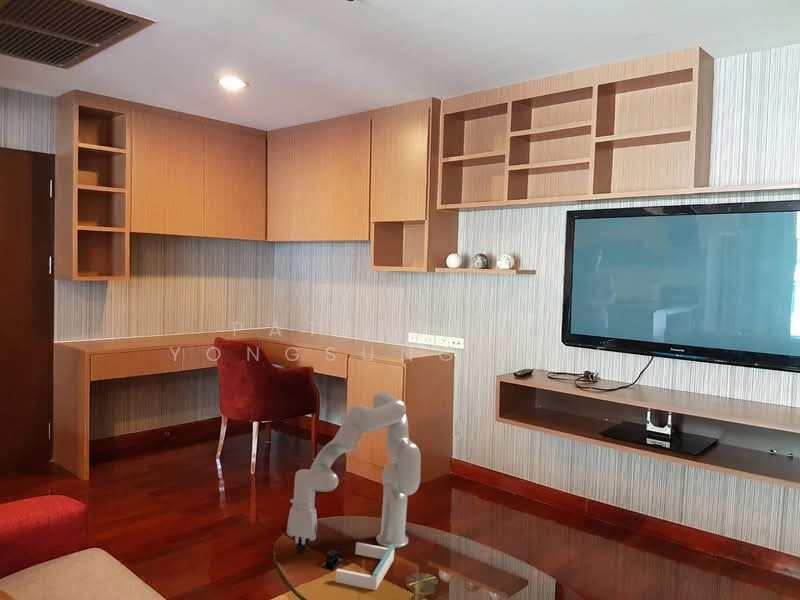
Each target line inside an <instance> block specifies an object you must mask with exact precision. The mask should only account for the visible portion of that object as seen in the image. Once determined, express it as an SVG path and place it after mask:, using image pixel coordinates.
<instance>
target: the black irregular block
mask: <svg viewBox="0 0 800 600" xmlns="http://www.w3.org/2000/svg"><path fill="white" fill-rule="evenodd" d="M344 561H345V559H343V558H339V551H337V550H333V549H331V550H329V551H328V552H327V553H326V556H325V561H324V562H323V563H322V564H321V565H320V566H319V568H321V569H324V570H328V571H331V572H333V571H334V570H336V569H337V567H338V566H340V565H341V564H342V563H343V562H344Z"/></svg>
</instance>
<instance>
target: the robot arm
mask: <svg viewBox="0 0 800 600" xmlns="http://www.w3.org/2000/svg"><path fill="white" fill-rule="evenodd" d="M372 405H373V408H372V409H371V408H369V407H368V406H365V405H363V404H356V405H353V406H352V407H351V408H350V410H349V411H348V413H347V415H346V417H345V418H344V420H343V422H342V424H341V426H340V427H339V429H338V430H337V433H336V434H335V436H334V437H333V438H332V439H331V441H329V442H328V443H326V445H324V446H323V448H322V449H320V451H318V453H317V455H316V457H315V459H314V461H312V464H311V465H310V469H308V468H305V469H299V470H297V471H296V473H295V476H294V487H293V498H291V499H290V500H289V503H291V504H292V506H291V507H290V509H289V515H288V519H287V526H286V533H287V536H289V537H291V538H293V540H294V541H295V544H296V550H295V552H296V551H297V552H296V555H298V556H299V555H300V556H303V554H304V553H306V550H307V548H306V547H307V542H309V541H315V540H316V539H317V531H318V528H317V527H318V519H317V518H318V517H317V509H316V507H315V499H316V498H315V497H316V492H325V493H327V492H331V491H334V490H335V489H336V488H337V487H338V485H339V477H338V475H337V474H336V473H335V472H334V471H333V470H332V469H331V468H332V465H333V464H334V462H335V460H336V459H337V458H338V457H339V456H341V455H342V454H343V455H344V453H346V454H347V453H349V452H352V451H354V450H355V448H356V447H357V445H358V443H359V441H360V439H362V438H361V437H362V436H363V434H364V433H365V434H370V433H375V432H378V431H380V430H383V429H385V428H386V445H385V446H386V448H385V449H386V454H387V456H388V457H389V458H390V459H392V461H390V462H387V464H385V466H384V468H383V471H382V484H383V495H382V497H383V498H382V509H381V510H382V511H381V524H380V525H381V526H380V533H378V534H377V535H376V543H378V544H379V546H381V547H385V548H389V547H390V545H394V546H395V549H398V548H399V549H400V548H403V547H405V546H407V545H408V544H409V537H408V536H407V534H406V524H407V523H406V521H407V509H408V508H407V507H408V496H411V495H414V494H415V493H416V492H417V491H418V489H419V487H420V484H421V464H422V463H421V462H422V461H421V460H422V459H421V457H422V456H421V451H420V449H419V446H417V444H416V443H414V442H413V441H411V440H410V438H409V420H408V415H407V413H406V412H407V408H406V405H405V403H404V401H403V400H401V399H399V398H397V397H395V396H393V395H392V394H389V393H387V392H383V391H382V392H378V393H376V394H375V395H374V397H373V399H372Z"/></svg>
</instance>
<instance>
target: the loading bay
mask: <svg viewBox="0 0 800 600" xmlns="http://www.w3.org/2000/svg"><path fill="white" fill-rule="evenodd" d="M395 549H396V548H395V546H394V545H390V547H385V546H381V545H374V544H369V543H363V542H359V541H358V542H356V543H355V553H354V554H355V555H358V556H361V557H362V556H363V557H367V558H371V559H372V558H373V559H379V560H380V562H379V563H378V565H377V566H376V567H375V569H374V571H373V572H372V574H365V573H361V572H357V571H350V570H346V569H342V568H336V569H335V581H334V583H338V584H343V585H346V586H347V585H349V586H352V587H353V586H354V587H357V588H358V587H359V588H363V589H367V590H372V591H377V589H378V587H379V586H380V585H381V582H382V581H383V579H384V577H385V576H386V574H387V572H388V570H389V568H390V567H391V565H392V564H393V561H394V560H395V559H394V558H395Z"/></svg>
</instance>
